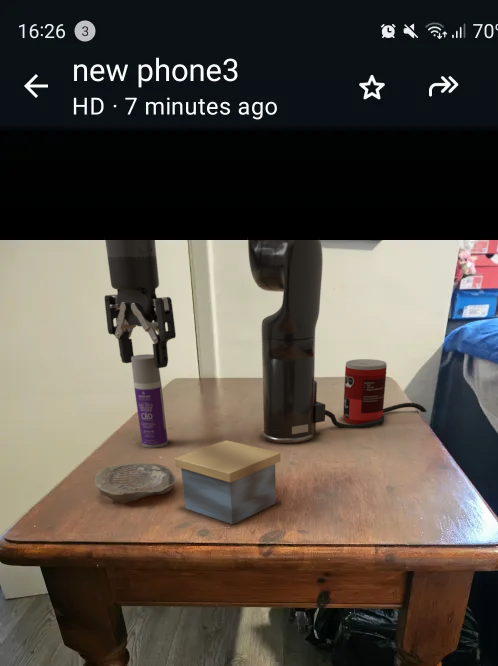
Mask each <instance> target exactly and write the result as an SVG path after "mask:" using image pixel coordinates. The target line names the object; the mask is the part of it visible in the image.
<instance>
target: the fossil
mask: <svg viewBox="0 0 498 666" xmlns="http://www.w3.org/2000/svg"><path fill="white" fill-rule="evenodd" d="M176 480H177V477H176V475H175V473H174V472H173V471H172V470H171V469H170V468H169V467H167V466H166V465H163V464H159V463H156V462H155V463H154V462H153V463H148V462H147V463H144V462H140V463H139V462H133V463H125V464H117V465H111V466H106V467H103V468H102V469H100V470H99V472H97V473H96V475H95V476H94V484H95V488H97V490H98V492H99V493H101V494H102V495H103V496H106V497H107V498H109V499H112V500H114V501H116V502H119V503H124V504H127V503H130V502H133V501H137V500H139V499H142V498H144V497H145V498H146V497H148V496H152V495H153V496H154V495H163V494H166V493H168V492H170V491H171V490H172V489H173V487H174V486H175V484H176Z"/></svg>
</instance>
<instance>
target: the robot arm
mask: <svg viewBox="0 0 498 666" xmlns="http://www.w3.org/2000/svg"><path fill="white" fill-rule="evenodd" d="M104 240H105V239H104ZM104 242H105V248H106V256H107V265H108V270H109V279H110V285H111V287H112V289H114V290H116V291H117V293H116V294H106V295H105V296H104V307H105V315H106V325H107V326H106V327H107V333H108V334H109V335H113V336H114V337H115V338H116V340H117V341H118V349H119V357H120V359H121V360H120V361H121V362H122V363H123V364H132V361H131V357H132V356H135V354H134V348H133V347H134V346H133V340H132V338H131V336H132V334H133V330H134V329H135V328H136V327H140V328H141V327H142V329H143V331H144V332H145V333H148V335H149V337H150V340H152V342H153V343H152V352H153V355H154V363H155V367H156V368H159V369H162V368H167V366H168V363H169V357H168V356H169V354H168V342H169V341H171V340H172V339H175V338H176V337H177V336H176V335H177V334H176V325H175V318H174V310H173V302H172V300H173V299H172V298H171V297H170V296H165V297H164V296H163V297H157V294H156V289H158V288H159V286H160V280H159V279H160V278H159V269H158V268H159V267H158V259H157V247H156V239H155V240H105V241H104ZM247 249H248V262H249V268H250V272H251V273H250V274H251V276H252V279H253V281H254V283H255V284H256V285H257V287H258V288H260V290H262V291H266V292H275V293H276V292H277V293H279V292H280V293H283V294H282V302H281V306H280V308H279V309H278V310H277V311H276V312H274V313H273V314H271V315H267V316H266V317H264V318H263V320H262V321H261V324H260V325H261V326H260V327H261V328H260V330H261V331H260V332H261V366H262V368H261V369H262V405H263V406H262V407H263V408H262V411H263V414H262V415H263V432H262V433H263V435H262V436H263V438H264V439H265V440H266V441H269V442H273V443H277V444H296V443H303V442H307V441H309V440H311V439H313V438H314V435H315V434H316V433H317V424H318V423H323V422H326V416H327V418H328V417H329V418H330V420H331V423H332V424H333V426H335V427H336V428H340V429H365V428H370V427H375V426H377V425H381V424H383V423H384V421H385V415H384V414H386V413H389V412H392V411H393V412H394V411H395V410H400V409H404V408H413V409H416V410H418V411H420V412H422V413H427V412H428V410H427V409H426V408H425V407H424V406H423V405H421V404H419V403H416V402H403V403H397V404H395V405H391V406H388V407H383V416H382V417H381V418H380V419H379V420H375V421H371V422H367V423H362V424H351V423H342V422H340V421H338V420H337V417H336V416H335V414H334V413H333V412H331V411H330V410H327V409H326V403H322V402H320V401H317V397H318V396H317V394H318V390H317V389H318V383H317V381H316V380H315V371H316V369H315V368H316V367H315V366H316V364H315V363H316V362H315V361H316V356H315V355H316V328H317V324H318V319H319V316H320V308H321V294H322V293H321V292H322V279H323V262H324V261H323V260H324V259H323V247H322V242H321V239H320V240H248V239H247ZM114 320H115V323H114ZM115 324H116V325H115ZM166 325H167V327H166Z"/></svg>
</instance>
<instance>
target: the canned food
mask: <svg viewBox="0 0 498 666" xmlns="http://www.w3.org/2000/svg"><path fill="white" fill-rule="evenodd" d="M344 369H345V371H344V387H343V388H344V391H343V392H344V393H343V414H342V417H343V421H345V422H346V423H347V424H351V425H352V424H362V423H367V422H371V421H375V420H379V419H380V418H381V417H382V416H383V415H384V413H383V409H384V404H385V393H386V392H385V391H386V381H387V379H386V378H387V369H388V367H387V362H386V361H384V360H379V359H373V358H358V359H357V358H356V359H350V360H348V361H346V362H345V368H344Z"/></svg>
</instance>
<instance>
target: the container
mask: <svg viewBox="0 0 498 666" xmlns="http://www.w3.org/2000/svg"><path fill="white" fill-rule="evenodd" d="M131 361H132V362H131V370H132V378H133V387H134V388H133V389H134V394H135V403H136V409H137V418H138V425H139V431H140V438H141V439H140V440H141V446H142V447H144V448H148V449H156V448H157V449H158V448H162V447H166V446H167V445H168V444H169V440H168V431H167V424H166V423H167V422H166V413H165V412H166V411H165V405H164V404H165V403H164V395H163V386H162V379H161V370H160V368H156V367H155V363H154V354H151V353H150V354H149V353H147V354H136V355H134V356H132V357H131Z"/></svg>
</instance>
